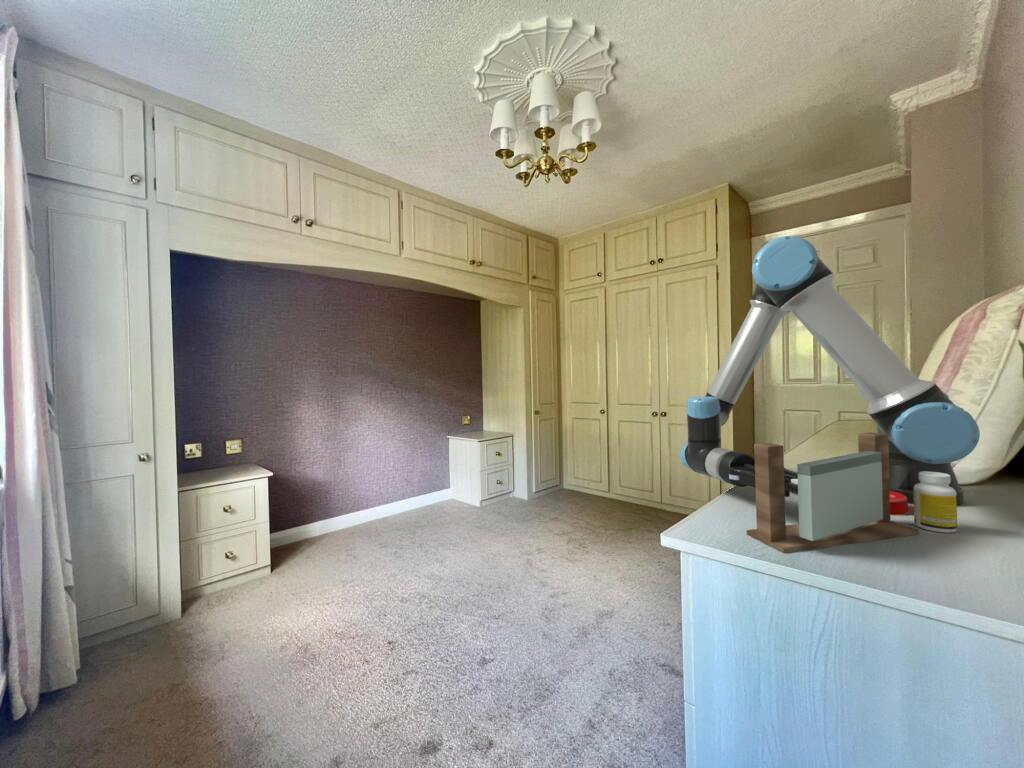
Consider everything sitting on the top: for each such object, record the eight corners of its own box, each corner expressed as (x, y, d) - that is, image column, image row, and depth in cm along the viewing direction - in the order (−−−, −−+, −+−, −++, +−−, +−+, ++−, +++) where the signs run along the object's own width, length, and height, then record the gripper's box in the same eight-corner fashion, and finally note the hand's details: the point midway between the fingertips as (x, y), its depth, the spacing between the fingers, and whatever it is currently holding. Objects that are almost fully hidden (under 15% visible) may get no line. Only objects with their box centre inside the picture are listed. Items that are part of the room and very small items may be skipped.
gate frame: (870, 518, 80) (868, 432, 79) (918, 534, 72) (916, 437, 71) (746, 534, 74) (743, 441, 74) (783, 552, 67) (780, 449, 66)
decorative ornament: (834, 504, 90) (834, 489, 90) (869, 499, 92) (869, 485, 92) (883, 518, 80) (882, 502, 80) (920, 512, 82) (920, 497, 82)
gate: (869, 516, 76) (868, 450, 75) (883, 519, 74) (881, 452, 74) (799, 536, 68) (797, 464, 68) (812, 541, 66) (810, 466, 66)
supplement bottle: (966, 534, 71) (965, 477, 71) (929, 533, 72) (928, 477, 72) (940, 523, 76) (939, 470, 76) (906, 522, 77) (905, 470, 77)
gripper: (757, 480, 96) (860, 512, 73) (705, 485, 93) (794, 520, 70) (756, 448, 96) (859, 470, 73) (704, 452, 93) (793, 477, 70)
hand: (827, 495), depth 71 cm, fingers closed
